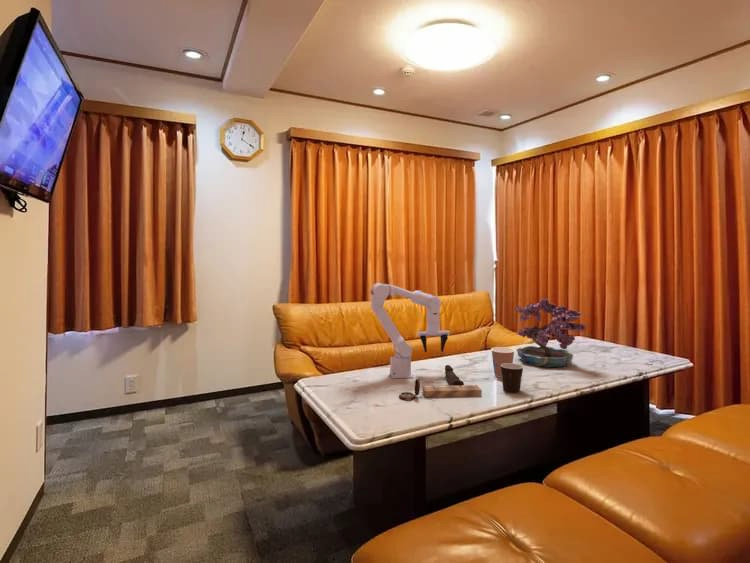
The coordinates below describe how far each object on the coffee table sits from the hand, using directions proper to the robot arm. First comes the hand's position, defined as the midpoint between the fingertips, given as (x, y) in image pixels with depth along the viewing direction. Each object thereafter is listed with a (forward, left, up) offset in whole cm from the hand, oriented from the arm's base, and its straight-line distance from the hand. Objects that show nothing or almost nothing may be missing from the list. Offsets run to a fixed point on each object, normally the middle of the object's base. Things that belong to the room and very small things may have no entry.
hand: (433, 351), depth 189 cm
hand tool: (+5, -14, -11) cm, 18 cm away
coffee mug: (+25, -26, -11) cm, 38 cm away
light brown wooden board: (+1, -28, -10) cm, 30 cm away
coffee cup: (+30, -5, -11) cm, 33 cm away
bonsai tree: (+60, +13, -11) cm, 63 cm away
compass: (-16, -32, -11) cm, 37 cm away
